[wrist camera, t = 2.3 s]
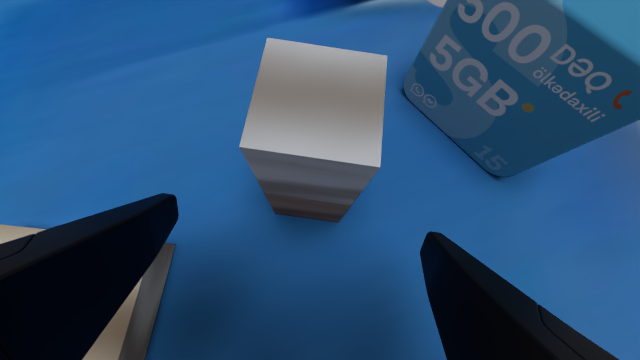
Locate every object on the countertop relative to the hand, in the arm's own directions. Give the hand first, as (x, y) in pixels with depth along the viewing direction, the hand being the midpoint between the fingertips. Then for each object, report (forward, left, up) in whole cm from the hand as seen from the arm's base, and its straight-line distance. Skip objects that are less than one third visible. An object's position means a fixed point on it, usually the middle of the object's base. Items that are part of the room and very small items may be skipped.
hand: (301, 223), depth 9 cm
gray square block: (+5, 0, -11) cm, 12 cm away
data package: (+13, -13, -11) cm, 21 cm away
